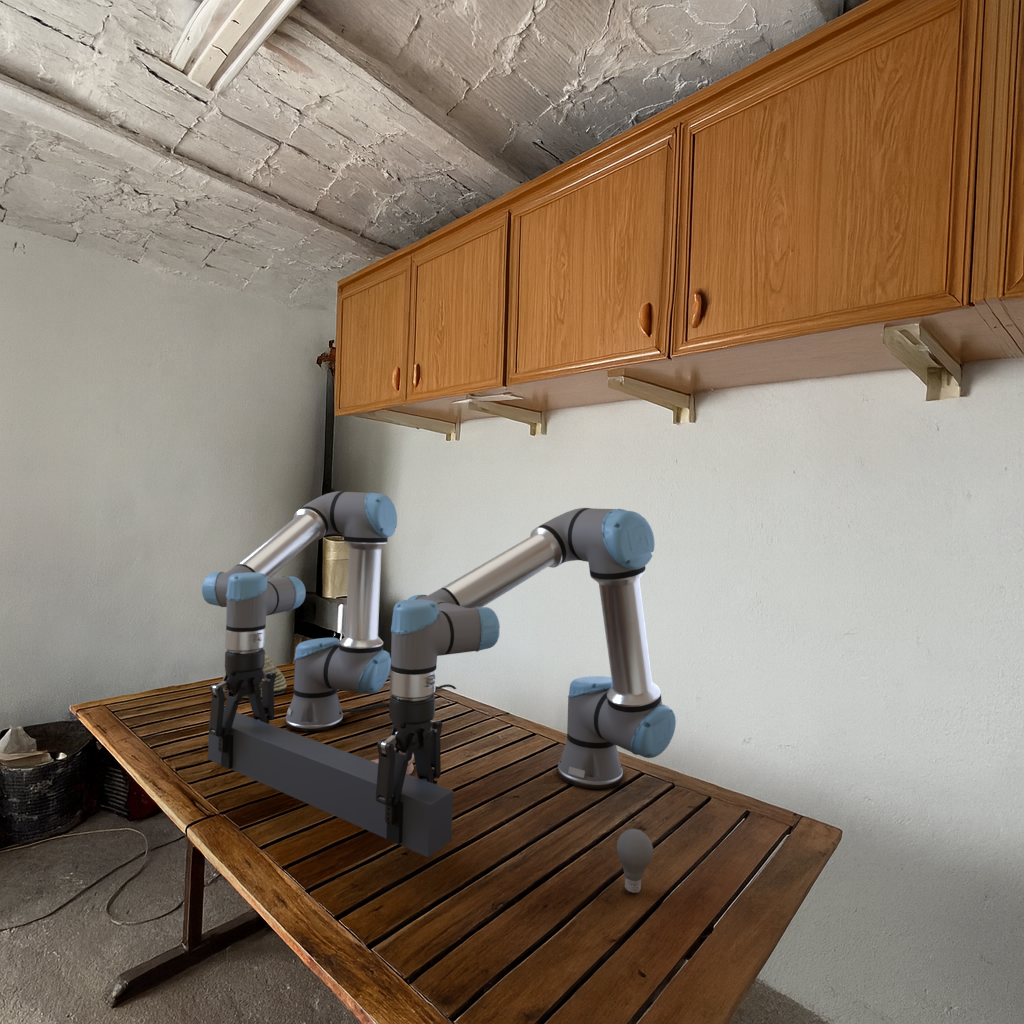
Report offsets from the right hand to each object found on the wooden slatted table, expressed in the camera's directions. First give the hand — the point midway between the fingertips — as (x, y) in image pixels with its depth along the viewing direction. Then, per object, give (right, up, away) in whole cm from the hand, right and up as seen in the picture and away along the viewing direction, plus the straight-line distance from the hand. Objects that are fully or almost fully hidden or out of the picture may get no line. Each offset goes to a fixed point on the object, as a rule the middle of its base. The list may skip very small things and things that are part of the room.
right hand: (408, 831), depth 105 cm
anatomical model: (-13, -7, +42) cm, 44 cm away
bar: (-19, +1, +12) cm, 23 cm away
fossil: (-63, -4, +93) cm, 112 cm away
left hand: (-38, +2, +24) cm, 45 cm away
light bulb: (+37, -10, 0) cm, 39 cm away
